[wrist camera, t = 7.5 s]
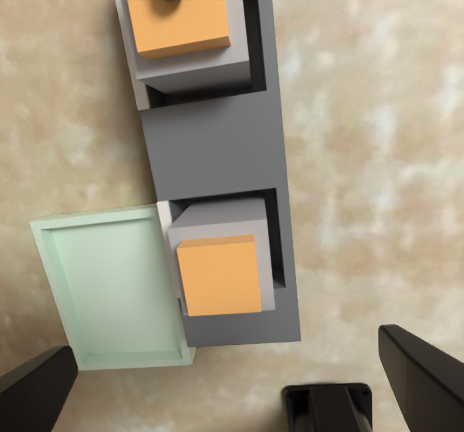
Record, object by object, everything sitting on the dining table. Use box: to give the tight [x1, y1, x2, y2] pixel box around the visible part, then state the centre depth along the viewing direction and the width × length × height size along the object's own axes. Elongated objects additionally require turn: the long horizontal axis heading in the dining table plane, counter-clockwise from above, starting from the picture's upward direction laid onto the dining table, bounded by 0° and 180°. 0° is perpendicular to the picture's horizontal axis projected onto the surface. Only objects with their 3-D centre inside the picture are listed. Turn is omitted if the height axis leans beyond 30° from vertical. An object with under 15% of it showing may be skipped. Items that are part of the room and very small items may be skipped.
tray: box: [29, 203, 196, 371], centre depth 21 cm, size 12×9×2 cm
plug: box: [167, 193, 275, 316], centre depth 15 cm, size 4×4×7 cm
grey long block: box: [115, 0, 301, 347], centre depth 16 cm, size 22×7×4 cm, turn 8°
